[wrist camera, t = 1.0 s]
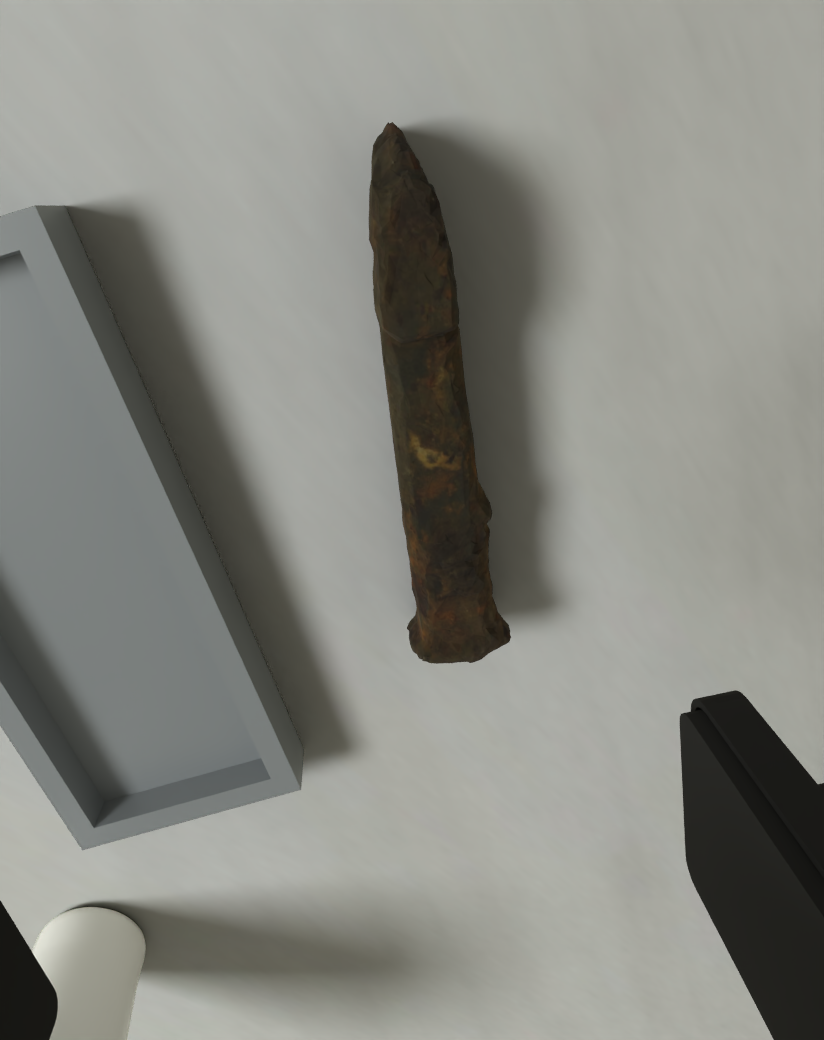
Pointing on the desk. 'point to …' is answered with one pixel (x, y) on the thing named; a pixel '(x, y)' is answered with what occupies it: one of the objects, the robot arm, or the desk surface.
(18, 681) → the tray
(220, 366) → the desk surface
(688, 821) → the robot arm
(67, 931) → the white tumbler
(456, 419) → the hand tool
